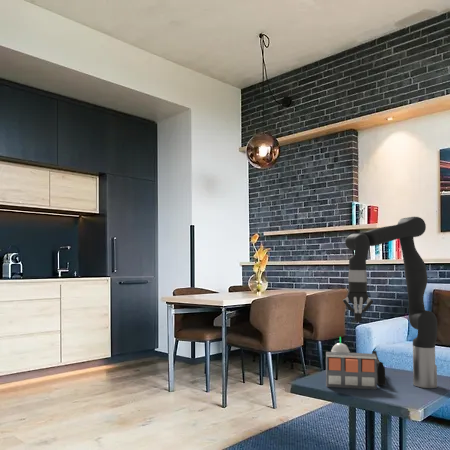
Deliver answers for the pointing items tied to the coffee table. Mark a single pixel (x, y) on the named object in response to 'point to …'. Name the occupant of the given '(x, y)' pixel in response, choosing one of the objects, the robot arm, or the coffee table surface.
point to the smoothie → (340, 348)
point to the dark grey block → (351, 378)
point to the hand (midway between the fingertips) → (358, 322)
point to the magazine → (380, 371)
